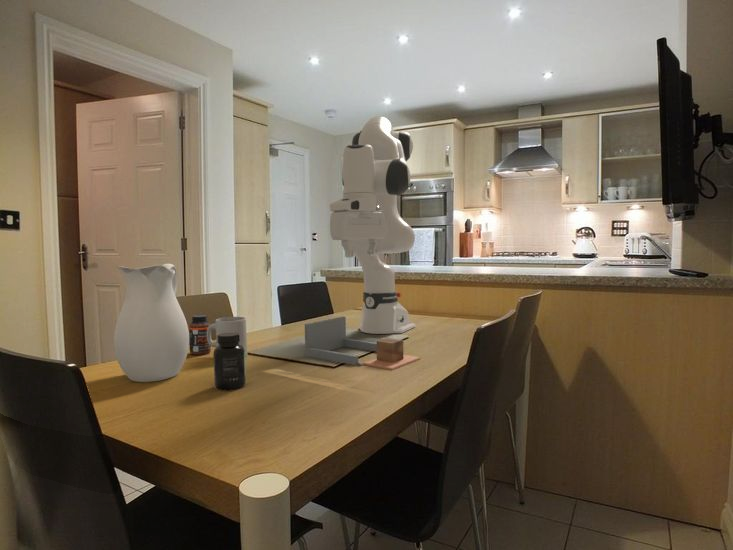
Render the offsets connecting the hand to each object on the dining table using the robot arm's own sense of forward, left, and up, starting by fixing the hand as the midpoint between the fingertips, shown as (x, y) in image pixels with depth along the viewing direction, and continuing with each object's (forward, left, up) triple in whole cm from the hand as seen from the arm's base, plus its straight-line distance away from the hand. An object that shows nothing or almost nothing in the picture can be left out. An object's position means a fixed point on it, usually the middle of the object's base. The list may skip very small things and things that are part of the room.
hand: (360, 256), depth 129 cm
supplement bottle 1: (+21, -45, -29) cm, 57 cm away
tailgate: (+1, +6, -27) cm, 28 cm away
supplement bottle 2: (+36, -10, -29) cm, 47 cm away
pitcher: (+39, -35, -29) cm, 60 cm away
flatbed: (+1, -4, -29) cm, 29 cm away
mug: (+19, -35, -29) cm, 49 cm away
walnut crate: (+1, +10, -27) cm, 29 cm away
